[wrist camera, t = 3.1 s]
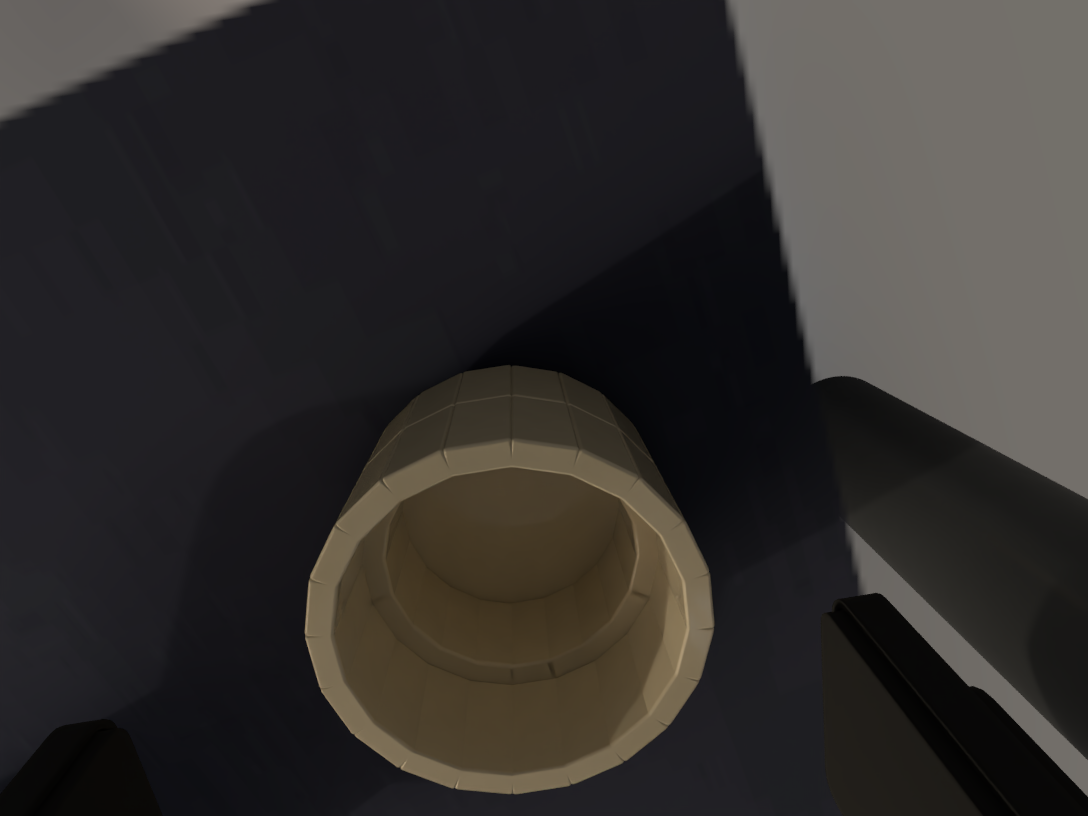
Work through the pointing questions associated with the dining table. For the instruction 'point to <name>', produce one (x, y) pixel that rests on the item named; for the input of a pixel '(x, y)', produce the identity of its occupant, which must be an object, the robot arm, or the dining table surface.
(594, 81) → the dining table surface
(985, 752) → the robot arm
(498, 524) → the tan faceted cup
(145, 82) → the dining table surface
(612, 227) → the dining table surface
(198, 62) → the dining table surface
